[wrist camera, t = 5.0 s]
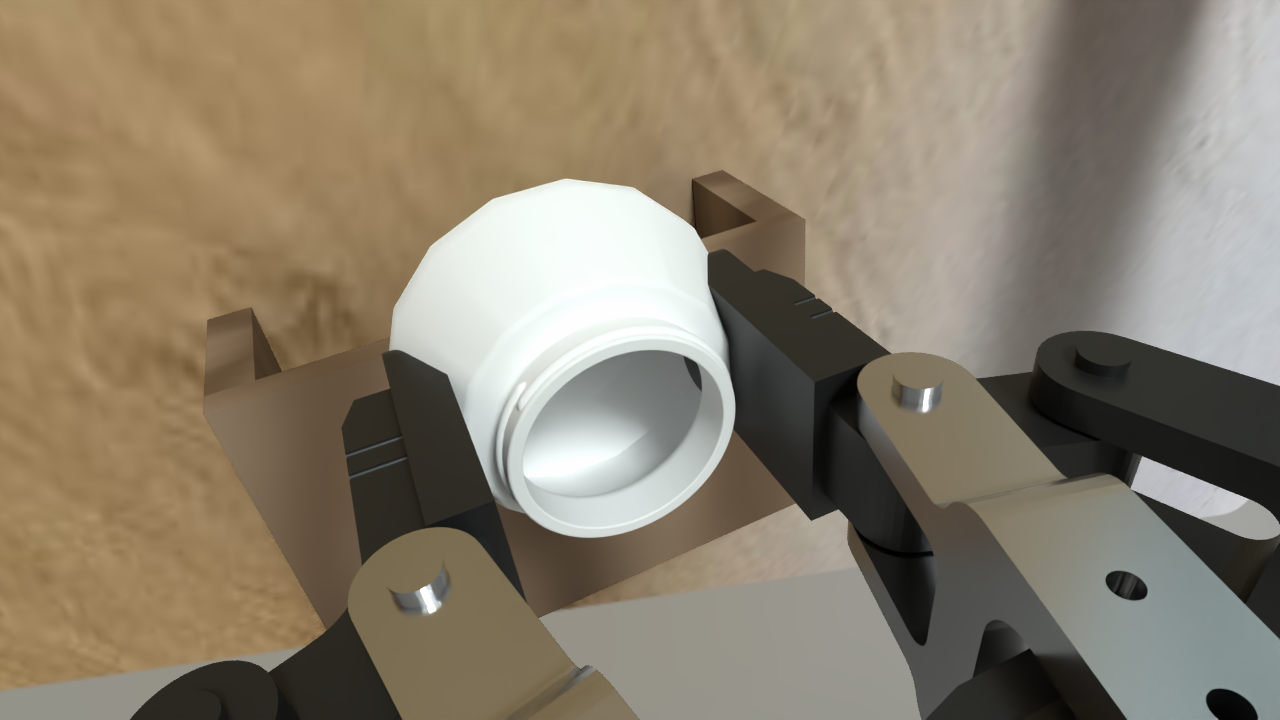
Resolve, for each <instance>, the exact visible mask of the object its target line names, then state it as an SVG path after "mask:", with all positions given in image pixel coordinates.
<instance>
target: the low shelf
mask: <svg viewBox="0 0 1280 720" xmlns="http://www.w3.org/2000/svg"><path fill="white" fill-rule="evenodd" d="M692 180H693V194H694V207H695V220H696V232H697V234H698V236H699V237H700V239H701V241H702V243H703V244H704V246H705V248H706V250H707V251H708V253H710V252H713V251H716V250H720V249H726V250H728V251H729V252H731V253H732V254H733V255H734V256H736V257H737V258H738V259H739V260H740V261H742V262H743V263H744V264H745V265H747V266H748V267H749V268H750V269H752V270H753V271H754V272H756V271H759V270H762V269H765V270H768V271H771V272H774V273H777V274H780V275H783V276H786V277H789V278H792V279H794V280H796V281H797V282H798V283H799V284H801V285H802V286H803V287H804V283H805V219H803V218H802V217H800V216H798V215H797V214H795V213H793V212H792V211H790V210H788V209H787V208H785V207H783V206H782V205H780V204H778V203H777V202H775V201H773V200H772V199H770V198H768V197H767V196H765V195H763V194H762V193H760V192H758V191H757V190H755V189H753V188H752V187H750V186H748V185H747V184H745V183H743V182H742V181H740V180H738V179H736V178H735V177H733V176H731V175H730V174H728V173H726V172H725V171H723V170H722V171H718V172H715V173H711V174H708V175H704V176H701V177H698V178H694V179H692ZM389 346H390V338H387V339H384V340H381V341H378V342H375V343H371V344H368V345H365V346H362V347H359V348H356V349H353V350H349V351H346V352H343V353H340V354H337V355H334V356H330V357H327V358H324V359H321V360H318V361H315V362H312V363H308V364H305V365H302V366H299V367H296V368H293V369H289V370H286V371H283V372H282V371H281V369H280V367H279V365H278V363H277V360H276V358H275V356H274V354H273V352H272V350H271V348H270V346H269V344H268V342H267V339H266V337H265V335H264V333H263V331H262V329H261V327H260V325H259V323H258V321H257V318H256V316H255V314H254V312H253V310H252V308H247V309H244V310H240V311H237V312H234V313H230V314H227V315H223V316H220V317H216V318H213V319H209V320H208V322H207V343H206V364H205V384H204V405H203V415H204V417H205V419H206V420H207V422H208V424H209V426H210V427H211V429H212V431H213V433H214V434H215V436H216V438H217V439H218V441H219V443H220V445H221V446H222V448H223V450H224V452H225V453H226V455H227V457H228V459H229V460H230V462H231V464H232V466H233V467H234V469H235V471H236V473H237V474H238V476H239V478H240V480H241V481H242V483H243V485H244V487H245V488H246V490H247V492H248V493H249V495H250V497H251V499H252V500H253V502H254V504H255V506H256V507H257V509H258V511H259V513H260V514H261V516H262V518H263V520H264V521H265V523H266V525H267V527H268V528H269V530H270V532H271V534H272V535H273V537H274V539H275V541H276V542H277V544H278V546H279V548H280V549H281V551H282V553H283V554H284V556H285V558H286V560H287V561H288V563H289V565H290V567H291V568H292V570H293V572H294V574H295V575H296V577H297V579H298V581H299V582H300V584H301V586H302V588H303V589H304V591H305V593H306V595H307V596H308V598H309V600H310V602H311V603H312V605H313V607H314V608H315V610H316V612H317V614H318V615H319V617H320V619H321V621H322V622H323V624H324V626H325V628H326V629H327V630H328V629H329V628H330V627H331V626H332V625H333V624H334V623H335V622H336V621H337V620H338V619H339V617H340V616H341V615H342V614H343V613H344V611H345V610H346V608H347V607H348V595H349V590H350V587H351V584H352V582H353V580H354V578H355V576H356V574H357V572H358V571H359V570H360V568H361V567H362V561H361V555H360V548H359V541H358V535H357V528H356V522H355V515H354V508H353V502H352V495H351V488H350V482H349V480H350V478H349V475H348V469H347V462H346V458H347V457H346V454H345V449H344V442H343V435H342V429H341V427H342V425H343V423H344V421H345V418H346V416H347V414H348V412H349V410H350V407H351V405H352V403H353V401H354V400H356V399H359V398H362V397H365V396H368V395H371V394H374V393H378V392H381V391H384V390H387V389H390V386H389V382H388V378H387V374H386V370H385V366H384V362H383V358H382V353H384V352H387V351H389ZM495 503H496V502H495ZM795 503H796V502H795V501H794V500H793V499H792V498H791V496H790V495H789V494H788V493H787V492H786V491H785V489H784V488H783V487H782V486H781V485H780V484H779V482H778V481H777V480H776V479H775V478H774V476H773V475H772V474H771V473H770V472H769V471H768V469H767V468H766V467H765V466H764V465H763V464H762V462H761V461H760V460H759V459H758V458H757V456H756V455H755V454H754V453H753V452H752V451H751V449H750V448H749V447H748V446H747V445H746V444H745V442H744V441H743V440H742V439H741V438H740V436H739V435H738V434H737V433H736V432H735V431H734V429H733V431H732V434H731V437H730V441H729V443H728V446H727V448H726V450H725V452H724V454H723V456H722V458H721V460H720V462H719V463H718V465H717V467H716V468H715V469H714V471H713V472H712V474H711V475H710V476H709V477H708V479H707V480H706V481H705V482H704V484H703V485H702V486H701V487H700V488H699V489H698V490H697V491H696V492H695V493H694V494H693V495H692V496H691V497H690V498H688V499H687V500H686V501H685V502H683V503H682V504H681V505H680V506H678V507H677V508H676V509H674V510H673V511H671V512H670V513H668V514H666V515H665V516H663V517H662V518H660V519H658V520H656V521H654V522H652V523H650V524H648V525H645V526H643V527H641V528H638V529H635V530H633V531H629V532H626V533H622V534H618V535H613V536H607V537H597V538H581V537H572V536H567V535H562V534H559V533H556V532H553V531H551V530H549V529H546V528H544V527H543V526H541V525H539V524H537V523H536V522H535V521H534V520H532V519H531V518H530V517H529V516H528V515H527V514H525V513H521V512H518V511H514V510H510V509H507V508H505V507H504V506H502V505H500V504H498V503H496V506H497V509H498V512H499V515H500V518H501V522H502V525H503V528H504V531H505V534H506V537H507V541H508V544H509V547H510V550H511V553H512V556H513V560H514V563H515V566H516V569H517V572H518V575H519V579H520V582H521V585H522V588H523V591H524V594H525V598H526V601H527V604H528V606H529V607H530V608H531V610H532V611H533V612H534V614H535V615H536V616H537V617H538V618H539V617H542V616H544V615H546V614H548V613H551V612H553V611H555V610H557V609H560V608H562V607H564V606H566V605H569V604H571V603H573V602H575V601H577V600H580V599H582V598H584V597H586V596H589V595H591V594H593V593H595V592H598V591H600V590H602V589H604V588H607V587H609V586H611V585H613V584H616V583H618V582H620V581H622V580H625V579H627V578H629V577H631V576H634V575H636V574H638V573H640V572H643V571H645V570H647V569H649V568H652V567H654V566H656V565H658V564H661V563H663V562H665V561H667V560H670V559H672V558H674V557H676V556H678V555H681V554H683V553H685V552H687V551H690V550H692V549H694V548H696V547H699V546H701V545H703V544H705V543H708V542H710V541H712V540H714V539H717V538H719V537H721V536H723V535H726V534H728V533H730V532H732V531H735V530H737V529H739V528H741V527H744V526H746V525H748V524H750V523H753V522H755V521H757V520H759V519H762V518H764V517H766V516H768V515H771V514H773V513H775V512H777V511H779V510H782V509H784V508H786V507H788V506H791V505H793V504H795Z"/></svg>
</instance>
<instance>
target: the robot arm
mask: <svg viewBox="0 0 1280 720" xmlns="http://www.w3.org/2000/svg"><path fill="white" fill-rule="evenodd" d="M707 274H708V286H709V289H710V292H711V294H712V297H713V300H714V302H715V305H716V308H717V311H718V313H719V316H720V319H721V321H722V324H723V327H724V330H725V332H726V335H727V338H728V342H729V356H730V373H731V382H732V387H733V391H734V397H735V421H734V426H733V429H734V431H735V432H736V433H737V434H738V435H739V436H740V438H741V439H742V440H743V441H744V442H745V444H746V445H747V446H748V447H749V448H750V449H751V451H752V452H753V453H754V454H755V455H756V456H757V458H758V459H759V460H760V461H761V462H762V464H763V465H764V466H765V467H766V468H767V469H768V471H769V472H770V473H771V474H772V475H773V476H774V478H775V479H776V480H777V481H778V482H779V484H780V485H781V486H782V487H783V488H784V489H785V491H786V492H787V493H788V494H789V495H790V496H791V498H792V499H793V500H794V501H795V502H796V504H797V505H798V506H799V507H800V508H801V509H802V511H803V512H804V513H805V514H806V515H807V516H808V518H809V519H810V520H811V521H812V520H814V519H817V518H819V517H821V516H824V515H826V514H828V513H831V512H833V511H836V510H838V509H839V510H840V511H841V512H842V513H843V514H844V515H845V517H846V518H847V519H848V533H847V540H848V545H849V548H850V550H851V552H852V554H853V556H854V558H855V560H856V562H857V564H858V566H859V568H860V570H861V572H862V574H863V575H864V578H865V580H866V582H867V584H868V586H869V588H870V590H871V592H872V594H873V595H874V598H875V599H876V601H877V603H878V605H879V607H880V609H881V611H882V613H883V615H884V617H885V619H886V621H887V623H888V625H889V627H890V629H891V631H892V633H893V635H894V637H895V639H896V641H897V642H898V645H899V646H900V649H901V651H902V653H903V654H904V656H905V658H906V661H907V663H908V665H909V667H910V670H911V673H912V676H913V680H914V684H915V689H916V696H917V703H918V708H919V711H920V715H921V719H922V720H1280V534H1279V535H1278V536H1276V537H1274V538H1271V539H1267V540H1253V539H1248V538H1244V537H1241V536H1238V535H1235V534H1233V533H1231V532H1229V531H1226V530H1224V529H1222V528H1219V527H1217V526H1215V525H1212V524H1210V523H1208V522H1205V521H1203V520H1201V519H1198V518H1196V517H1194V516H1191V515H1189V514H1187V513H1184V512H1182V511H1180V510H1177V509H1175V508H1173V507H1170V506H1168V505H1166V504H1164V503H1161V502H1159V501H1157V500H1154V499H1152V498H1150V497H1147V496H1145V495H1143V494H1140V493H1138V492H1136V491H1133V490H1131V489H1130V488H1131V485H1132V483H1133V480H1134V477H1135V474H1136V472H1137V469H1138V466H1139V463H1140V461H1141V458H1142V456H1143V457H1146V458H1148V459H1151V460H1153V461H1156V462H1158V463H1161V464H1163V465H1166V466H1168V467H1171V468H1173V469H1176V470H1178V471H1181V472H1183V473H1186V474H1188V475H1191V476H1193V477H1195V478H1198V479H1200V480H1203V481H1205V482H1208V483H1210V484H1213V485H1215V486H1218V487H1220V488H1223V489H1225V490H1228V491H1230V492H1233V493H1235V494H1238V495H1240V496H1243V497H1245V498H1248V499H1251V500H1253V501H1255V502H1257V503H1259V504H1260V505H1262V506H1264V507H1265V508H1266V509H1268V510H1269V511H1270V512H1271V513H1272V514H1273V515H1274V516H1275V517H1276V519H1277V520H1278V521H1279V524H1280V386H1278V385H1275V384H1272V383H1268V382H1265V381H1262V380H1259V379H1256V378H1252V377H1249V376H1246V375H1243V374H1240V373H1237V372H1233V371H1230V370H1227V369H1224V368H1221V367H1217V366H1214V365H1211V364H1208V363H1205V362H1201V361H1198V360H1195V359H1192V358H1189V357H1186V356H1182V355H1179V354H1176V353H1173V352H1170V351H1166V350H1163V349H1160V348H1157V347H1154V346H1151V345H1147V344H1144V343H1141V342H1138V341H1135V340H1131V339H1128V338H1125V337H1121V336H1118V335H1114V334H1109V333H1103V332H1094V331H1075V332H1067V333H1062V334H1059V335H1055V336H1053V337H1051V338H1049V339H1047V340H1046V341H1044V342H1043V343H1042V344H1041V345H1040V347H1039V348H1038V351H1037V355H1036V359H1035V363H1034V368H1033V372H1028V373H1020V374H1012V375H1004V376H995V377H987V378H978V379H975V378H974V377H973V375H972V374H970V373H969V372H968V371H967V370H966V369H965V368H963V367H962V366H960V365H959V364H957V363H955V362H953V361H951V360H948V359H945V358H943V357H940V356H936V355H932V354H925V353H915V352H905V353H895V354H891V353H890V352H889V351H887V350H886V349H885V348H883V347H882V346H881V345H879V344H878V343H877V342H875V341H874V340H873V339H871V338H870V337H869V336H868V335H866V334H865V333H864V332H862V331H861V330H860V329H858V328H857V327H856V326H854V325H853V324H852V323H851V322H849V321H848V320H847V319H845V318H844V317H843V316H841V315H840V314H839V313H837V312H834V313H833V311H832V308H831V307H830V306H828V305H827V304H826V303H824V302H823V301H822V300H820V299H816V298H815V295H814V294H813V293H811V292H810V291H809V290H807V289H806V288H805V287H803V286H802V285H801V284H799V283H798V282H797V281H796V280H794V279H792V278H789V277H786V276H783V275H780V274H777V273H774V272H771V271H768V270H765V269H762V270H759V271H756V272H754V271H753V270H752V269H750V268H749V267H748V266H747V265H745V264H744V263H743V262H742V261H740V260H739V259H738V258H737V257H736V256H734V255H733V254H732V253H731V252H729V251H728V250H726V249H720V250H716V251H713V252H710V253H708V256H707ZM683 357H684V361H685V364H686V367H687V369H688V372H689V374H690V376H691V378H692V380H693V381H694V383H695V384H696V386H697V387H698V388H699V389H700V391H701V392H702V380H701V374H700V370H699V367H698V365H697V363H696V362H695V361H693V360H691V359H689V358H688V357H685V356H683ZM382 358H383V362H384V366H385V370H386V374H387V378H388V382H389V386H390V389H387V390H384V391H381V392H378V393H374V394H371V395H368V396H365V397H362V398H359V399H356V400H354V401H353V403H352V405H351V407H350V410H349V412H348V414H347V416H346V418H345V421H344V423H343V425H342V427H341V429H342V435H343V442H344V449H345V454H346V457H347V458H346V462H347V469H348V475H349V478H350V480H349V482H350V488H351V495H352V502H353V508H354V515H355V522H356V528H357V535H358V541H359V548H360V555H361V561H362V567H361V568H360V570H359V571H358V572H357V574H356V576H355V578H354V580H353V582H352V584H351V587H350V590H349V595H348V607H347V608H346V610H345V611H344V613H343V614H342V615H341V616H340V617H339V619H338V620H337V621H336V622H335V623H334V624H333V625H332V626H331V627H330V628H329V629H328V630H327V631H326V632H325V633H323V634H322V635H321V636H320V637H318V638H317V639H316V640H314V641H313V642H312V643H310V644H309V645H308V646H306V647H305V648H303V649H302V650H300V651H299V652H297V653H296V654H294V655H293V656H292V657H290V658H289V659H287V660H286V661H284V662H283V663H281V664H280V665H279V666H277V667H276V668H274V669H273V670H271V671H270V672H267V671H266V670H264V669H263V668H262V667H260V666H258V665H256V664H253V663H250V662H245V661H238V660H237V661H223V662H217V663H212V664H209V665H206V666H203V667H200V668H198V669H196V670H193V671H191V672H189V673H187V674H184V675H183V676H181V677H179V678H178V679H176V680H174V681H173V682H171V683H170V684H168V685H167V686H165V687H164V688H162V689H161V690H160V691H158V692H157V693H156V694H155V695H154V696H153V697H151V698H150V699H149V700H148V701H147V702H146V703H145V704H144V705H143V706H142V707H141V708H140V709H139V710H138V711H137V712H136V713H135V714H134V715H133V716H132V718H131V719H130V720H640V719H639V718H638V717H637V716H636V714H635V713H634V712H633V711H632V709H631V708H630V707H629V706H628V704H627V703H626V702H625V701H624V699H623V698H622V697H621V696H620V695H619V693H618V692H617V691H616V690H615V688H614V687H613V686H612V685H611V684H610V683H609V681H608V680H607V679H606V678H605V677H604V676H603V675H602V674H601V673H600V672H599V671H598V670H596V669H595V668H593V667H592V666H589V665H588V666H585V667H583V668H582V669H580V668H578V667H577V666H576V665H575V664H574V663H573V662H572V661H571V660H570V658H569V657H568V656H567V655H566V654H565V652H564V651H563V650H562V648H561V647H560V646H559V644H558V643H557V642H556V641H555V639H554V638H553V637H552V635H551V634H550V633H549V632H548V630H547V629H546V628H545V627H544V625H543V624H542V623H541V621H540V620H539V619H538V617H537V616H536V615H535V614H534V612H533V611H532V610H531V608H530V607H529V606H528V604H527V601H526V598H525V594H524V591H523V588H522V585H521V582H520V579H519V575H518V572H517V569H516V566H515V563H514V560H513V556H512V553H511V550H510V547H509V544H508V541H507V537H506V534H505V531H504V528H503V525H502V522H501V518H500V515H499V512H498V509H497V506H496V503H495V500H494V497H493V494H492V492H491V489H490V486H489V484H488V481H487V478H486V476H485V473H484V470H483V468H482V465H481V463H480V460H479V457H478V455H477V452H476V449H475V447H474V444H473V441H472V439H471V436H470V433H469V431H468V428H467V425H466V423H465V420H464V417H463V415H462V412H461V410H460V407H459V404H458V402H457V399H456V396H455V394H454V391H453V388H452V386H451V383H450V380H449V378H448V375H447V374H445V373H444V372H442V371H440V370H438V369H436V368H434V367H432V366H430V365H428V364H426V363H424V362H422V361H421V360H419V359H417V358H415V357H413V356H411V355H409V354H407V353H405V352H403V351H401V350H391V351H387V352H384V353H382Z"/></svg>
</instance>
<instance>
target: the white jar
mask: <svg viewBox="0 0 1280 720" xmlns="http://www.w3.org/2000/svg"><path fill="white" fill-rule="evenodd" d="M707 256H708V251H707V250H706V248H705V246H704V244H703V243H702V241H701V239H700V237H699V236H698V234H697V232H696V230H695V229H694V228H693V227H692V226H691V225H689V224H688V223H687V222H686V221H685V220H683V219H682V218H680V217H679V216H677V215H676V214H674V213H672V212H671V211H669V210H668V209H666V208H665V207H663V206H662V205H660V204H658V203H657V202H655V201H654V200H652V199H651V198H649V197H648V196H646V195H644V194H643V193H641V192H640V191H638V190H637V189H635V188H634V187H627V186H619V185H612V184H604V183H596V182H588V181H580V180H572V179H562V180H559V181H555V182H551V183H548V184H544V185H541V186H537V187H534V188H530V189H526V190H523V191H519V192H516V193H512V194H508V195H505V196H501V197H498V198H494V199H492V200H491V201H489V202H488V203H487V204H485V205H484V206H483V207H481V208H480V209H479V210H477V211H476V212H475V213H473V214H472V215H471V216H469V217H468V218H467V219H465V220H464V221H463V222H461V223H460V224H459V225H457V226H456V227H455V228H454V229H452V230H451V231H450V232H448V233H447V234H446V235H444V236H443V237H442V238H440V239H439V240H438V241H436V242H435V243H434V244H432V245H431V246H430V248H429V250H428V251H427V253H426V255H425V256H424V258H423V260H422V261H421V263H420V265H419V266H418V268H417V270H416V271H415V273H414V275H413V276H412V278H411V280H410V282H409V283H408V285H407V287H406V288H405V290H404V292H403V293H402V295H401V297H400V298H399V300H398V302H397V303H396V305H395V307H394V308H393V317H392V327H391V337H390V346H389V351H391V350H401V351H403V352H405V353H407V354H409V355H411V356H413V357H415V358H417V359H419V360H421V361H422V362H424V363H426V364H428V365H430V366H432V367H434V368H436V369H438V370H440V371H442V372H444V373H445V374H447V375H448V378H449V380H450V383H451V386H452V388H453V391H454V394H455V396H456V399H457V402H458V404H459V407H460V410H461V412H462V415H463V417H464V420H465V423H466V425H467V428H468V431H469V433H470V436H471V439H472V441H473V444H474V447H475V449H476V452H477V455H478V457H479V460H480V463H481V465H482V468H483V470H484V473H485V476H486V478H487V481H488V484H489V486H490V489H491V492H492V494H493V497H494V500H495V502H496V503H498V504H500V505H502V506H504V507H505V508H507V509H510V510H514V511H518V512H521V513H525V514H527V515H528V516H529V517H530V518H531V519H532V520H534V521H535V522H536V523H537V524H539V525H541V526H543V527H544V528H546V529H549V530H551V531H553V532H556V533H559V534H562V535H567V536H572V537H581V538H597V537H607V536H613V535H618V534H622V533H626V532H629V531H633V530H635V529H638V528H641V527H643V526H645V525H648V524H650V523H652V522H654V521H656V520H658V519H660V518H662V517H663V516H665V515H666V514H668V513H670V512H671V511H673V510H674V509H676V508H677V507H678V506H680V505H681V504H682V503H683V502H685V501H686V500H687V499H688V498H690V497H691V496H692V495H693V494H694V493H695V492H696V491H697V490H698V489H699V488H700V487H701V486H702V485H703V484H704V482H705V481H706V480H707V479H708V477H709V476H710V475H711V474H712V472H713V471H714V469H715V468H716V467H717V465H718V463H719V462H720V460H721V458H722V456H723V454H724V452H725V450H726V448H727V446H728V443H729V441H730V437H731V434H732V431H733V426H734V421H735V397H734V391H733V387H732V382H731V373H730V356H729V342H728V338H727V335H726V332H725V330H724V327H723V324H722V321H721V319H720V316H719V313H718V311H717V308H716V305H715V302H714V300H713V297H712V294H711V292H710V289H709V286H708V274H707ZM683 356H685V357H688V358H689V359H691V360H693V361H695V362H696V363H697V365H698V367H699V370H700V374H701V380H702V392H701V391H700V389H699V388H698V387H697V386H696V384H695V383H694V381H693V380H692V378H691V376H690V374H689V372H688V369H687V367H686V364H685V361H684V357H683Z"/></svg>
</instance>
